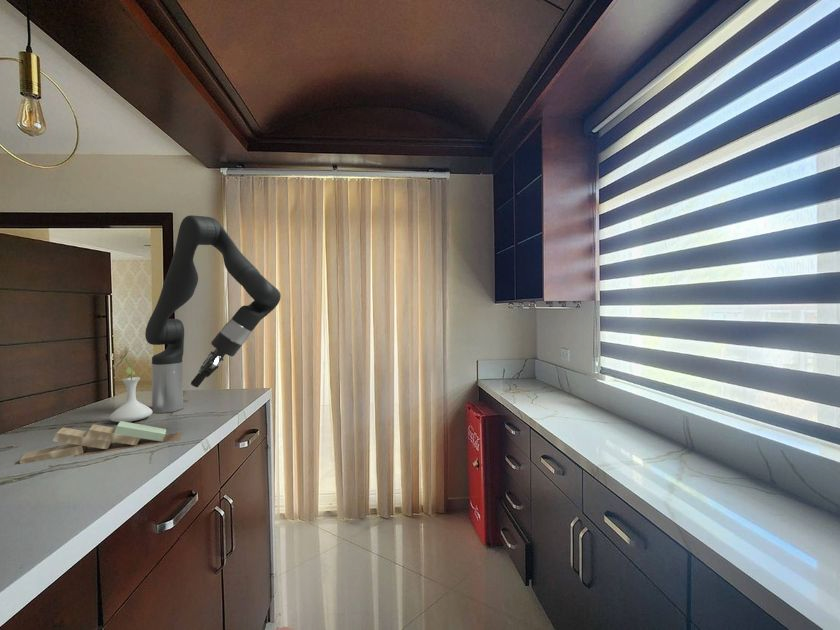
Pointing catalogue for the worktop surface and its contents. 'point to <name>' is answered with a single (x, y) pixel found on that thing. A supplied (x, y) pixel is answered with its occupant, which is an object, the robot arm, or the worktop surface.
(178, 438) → the board
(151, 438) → the green domino
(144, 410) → the flower in vase
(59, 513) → the worktop surface
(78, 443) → the domino
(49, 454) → the end domino
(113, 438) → the domino
